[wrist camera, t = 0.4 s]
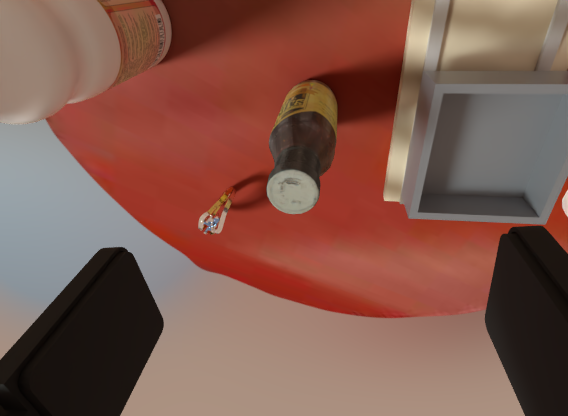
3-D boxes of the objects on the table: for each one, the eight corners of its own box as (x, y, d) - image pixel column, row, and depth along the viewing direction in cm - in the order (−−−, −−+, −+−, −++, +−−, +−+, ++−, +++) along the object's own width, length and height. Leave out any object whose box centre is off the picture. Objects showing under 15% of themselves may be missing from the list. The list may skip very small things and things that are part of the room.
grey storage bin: (418, 65, 37) (435, 83, 30) (561, 65, 35) (609, 84, 29) (398, 184, 44) (408, 218, 38) (514, 188, 43) (545, 224, 36)
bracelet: (230, 172, 49) (214, 203, 42) (248, 186, 50) (235, 219, 43) (203, 202, 52) (184, 235, 46) (220, 215, 53) (204, 249, 46)
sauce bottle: (302, 66, 40) (281, 130, 24) (348, 96, 41) (357, 176, 25) (274, 114, 44) (237, 198, 27) (316, 140, 45) (306, 236, 28)
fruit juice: (189, 48, 41) (-4, 146, 17) (126, 80, 44) (-113, 200, 20) (142, -44, 36) (-203, -78, 13) (75, -2, 39) (-305, 32, 16)
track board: (425, -95, 32) (431, -99, 30) (623, -105, 30) (641, -110, 28) (383, 194, 48) (385, 203, 46) (509, 199, 46) (516, 208, 44)
